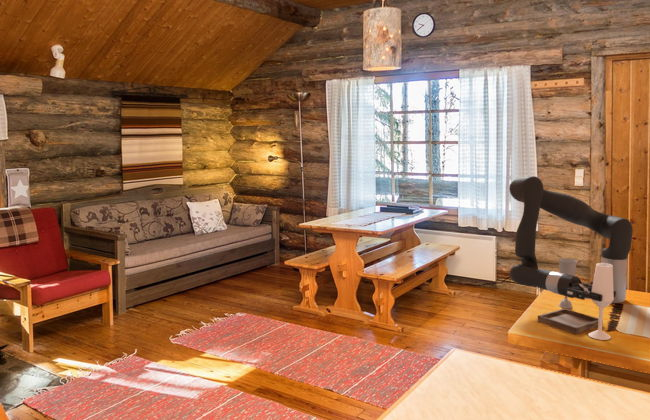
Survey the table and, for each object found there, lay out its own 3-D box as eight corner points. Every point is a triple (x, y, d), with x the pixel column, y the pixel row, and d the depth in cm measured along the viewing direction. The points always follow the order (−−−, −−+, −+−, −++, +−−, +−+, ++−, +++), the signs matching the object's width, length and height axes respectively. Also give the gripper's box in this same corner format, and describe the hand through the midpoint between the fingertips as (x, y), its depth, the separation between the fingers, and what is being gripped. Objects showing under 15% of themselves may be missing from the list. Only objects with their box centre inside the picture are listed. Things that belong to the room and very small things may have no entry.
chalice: (578, 309, 216) (581, 262, 213) (560, 309, 216) (562, 262, 213) (570, 303, 223) (573, 258, 220) (552, 303, 223) (555, 258, 220)
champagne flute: (612, 340, 183) (617, 268, 180) (589, 338, 185) (594, 266, 182) (609, 333, 190) (614, 262, 186) (586, 331, 192) (591, 261, 188)
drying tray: (564, 314, 210) (564, 308, 210) (602, 325, 198) (602, 319, 197) (537, 321, 202) (537, 315, 202) (575, 334, 190) (575, 328, 189)
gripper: (550, 276, 193) (595, 288, 179) (576, 270, 201) (622, 281, 187) (549, 298, 194) (594, 311, 180) (575, 291, 202) (620, 303, 188)
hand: (608, 296), depth 184 cm, fingers closed on champagne flute, 6 cm apart
